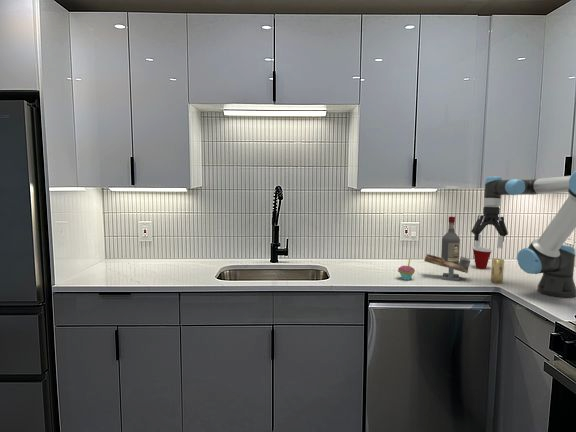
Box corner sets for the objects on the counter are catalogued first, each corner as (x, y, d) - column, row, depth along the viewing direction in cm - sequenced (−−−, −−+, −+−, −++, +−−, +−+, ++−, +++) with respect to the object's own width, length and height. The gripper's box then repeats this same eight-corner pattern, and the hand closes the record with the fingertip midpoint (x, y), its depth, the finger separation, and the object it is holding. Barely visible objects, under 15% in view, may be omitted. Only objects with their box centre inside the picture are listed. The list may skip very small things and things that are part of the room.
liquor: (438, 263, 242) (440, 216, 239) (450, 262, 245) (452, 215, 242) (449, 266, 234) (451, 217, 231) (461, 265, 237) (463, 217, 234)
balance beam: (466, 269, 207) (469, 258, 206) (467, 273, 199) (470, 261, 198) (425, 258, 215) (427, 247, 214) (424, 261, 207) (427, 250, 206)
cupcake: (417, 278, 205) (417, 256, 203) (409, 281, 199) (410, 259, 197) (402, 276, 211) (403, 254, 209) (394, 278, 205) (395, 256, 203)
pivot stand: (458, 276, 210) (459, 262, 209) (459, 281, 200) (459, 267, 199) (442, 274, 213) (443, 261, 212) (442, 279, 203) (443, 265, 202)
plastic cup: (484, 270, 222) (485, 250, 221) (467, 267, 231) (468, 247, 230) (495, 268, 228) (496, 248, 227) (478, 265, 237) (478, 246, 236)
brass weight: (504, 282, 198) (505, 259, 196) (500, 284, 194) (501, 261, 193) (493, 280, 202) (494, 257, 201) (489, 282, 198) (490, 259, 197)
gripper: (506, 208, 203) (503, 247, 203) (465, 205, 197) (462, 246, 197) (517, 208, 195) (514, 249, 196) (476, 205, 190) (472, 247, 190)
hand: (488, 247), depth 197 cm, fingers open, 13 cm apart
